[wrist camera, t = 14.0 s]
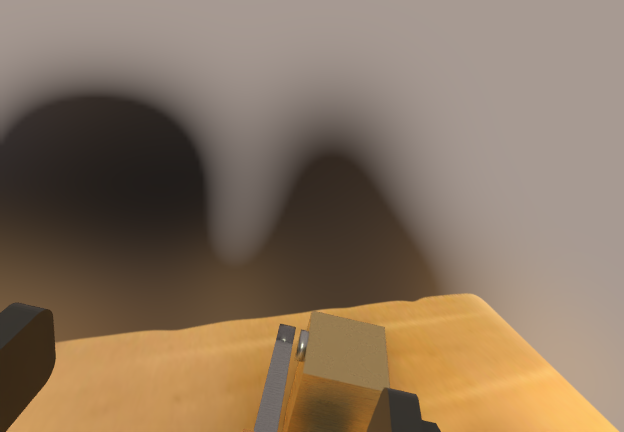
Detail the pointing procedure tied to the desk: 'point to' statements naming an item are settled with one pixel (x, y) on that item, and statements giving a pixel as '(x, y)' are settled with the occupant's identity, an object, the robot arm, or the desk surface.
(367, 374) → the block
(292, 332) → the lever
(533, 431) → the desk surface
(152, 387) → the desk surface
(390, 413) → the robot arm
